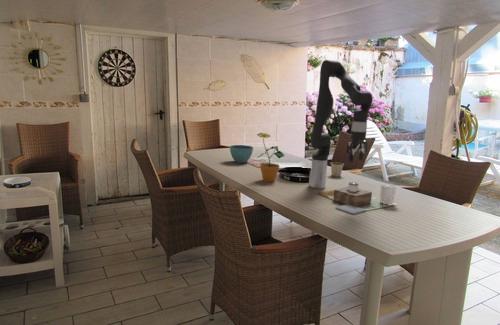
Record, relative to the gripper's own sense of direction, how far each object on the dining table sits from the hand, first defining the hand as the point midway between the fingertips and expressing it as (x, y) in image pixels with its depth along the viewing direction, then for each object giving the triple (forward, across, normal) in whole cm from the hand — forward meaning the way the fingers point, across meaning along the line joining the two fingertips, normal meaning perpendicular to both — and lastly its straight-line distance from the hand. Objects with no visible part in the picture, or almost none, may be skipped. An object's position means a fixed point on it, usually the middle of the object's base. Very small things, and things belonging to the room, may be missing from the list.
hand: (355, 160), depth 201 cm
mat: (+22, +13, +9) cm, 27 cm away
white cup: (+23, -14, +12) cm, 29 cm away
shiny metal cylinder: (+20, 0, 0) cm, 20 cm away
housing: (+22, 0, 0) cm, 22 cm away
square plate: (+23, -29, -81) cm, 89 cm away
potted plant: (+22, +9, -58) cm, 63 cm away
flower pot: (+23, -43, -46) cm, 67 cm away
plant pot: (+22, -11, -115) cm, 118 cm away
